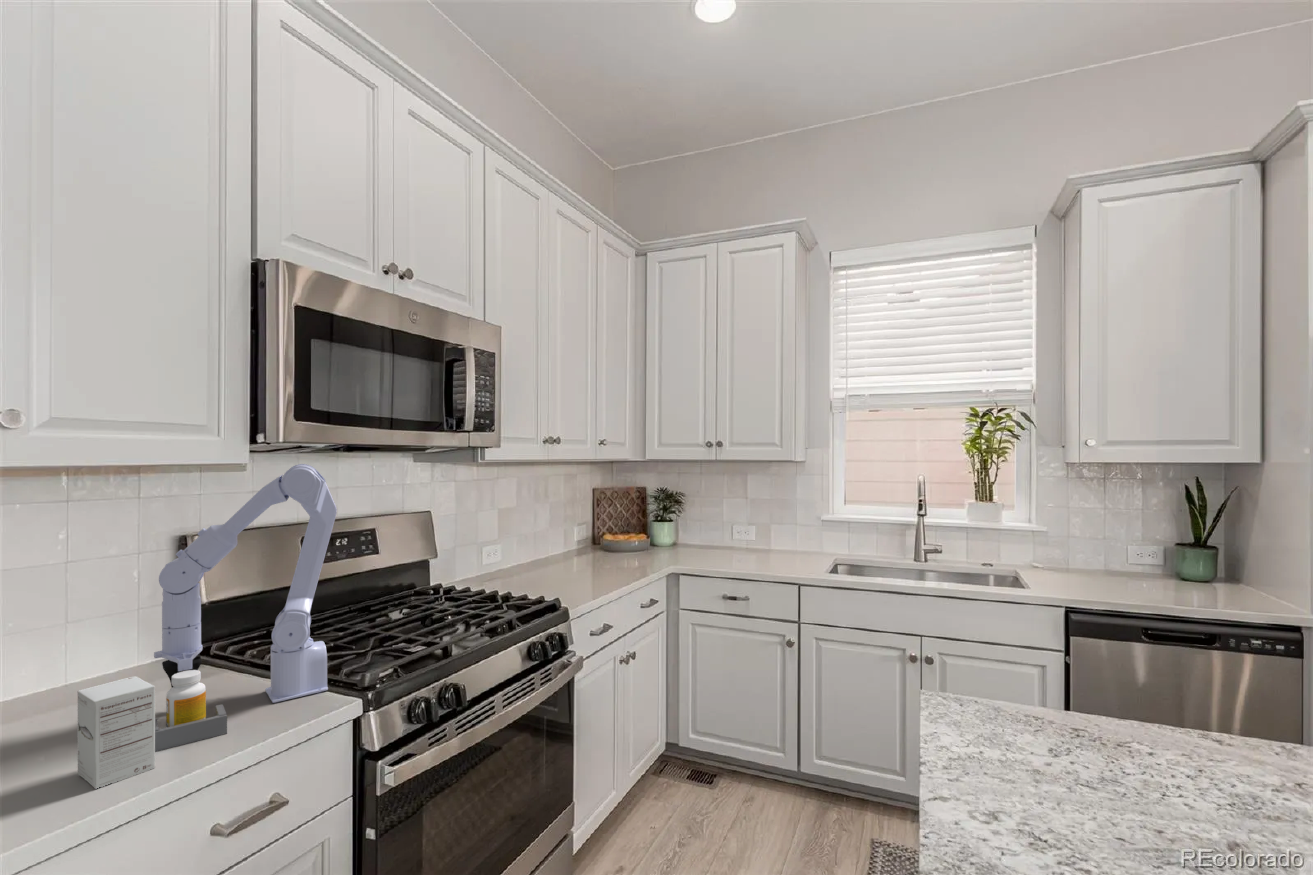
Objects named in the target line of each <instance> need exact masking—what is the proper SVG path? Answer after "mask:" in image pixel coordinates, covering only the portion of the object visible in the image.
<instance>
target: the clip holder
mask: <svg viewBox="0 0 1313 875" xmlns="http://www.w3.org/2000/svg"><path fill="white" fill-rule="evenodd" d="M158 722H159V721H158V719H157V718H155V752H159V751H163V750H167V749H171V748H176V747H180V746H182V745H186V744H191V743H195V742H198V741H202V740H203V741H204V740H207V739H211V738H214V737H219V736H222V735H226V734H228V715H227V711H226V709H225V707H224V705H223V703H222V704H217V705H215V715H214V716H211V717H206V718H205V719H201V720H197V721H193V722H188V723H184V724H180V725H176V726H171V727H167V728H166V727H163V728H160V727H159V723H158Z"/></svg>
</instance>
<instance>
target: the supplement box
mask: <svg viewBox="0 0 1313 875" xmlns="http://www.w3.org/2000/svg"><path fill="white" fill-rule="evenodd" d="M155 719H156V686H155V685H154V684H152V683H150V682H148V681H146V680H144V679H142V678H140V677H139V676H137V675H135V676H130V677H125V678H121V679H116V680H114V681H110V682H106V683H102V684H99V685H94V686H91V687H87V688H83V689H79V690H77V775H78V776H79V777H81V778H82V779H84V780H85V781H87V783H89V785H90V786H92V787H93V788H94V789H96V790H97V788H98V789H100V788H99V787H101V788H103V786H104V787H106V786H105V785H107V786H109V785H108V784H110V783H112V784H115V783H117V781H118V782H120V780H121V781H124V780H125V779H129V778H131V777H134V776H133V775H135V776H137V775H136V774H138V775H140V774H143V773H146V772H148V771H150V769H151V770H153V769H155V768H156V751H155ZM145 771H146V772H145ZM142 772H143V773H142ZM110 785H111V784H110Z"/></svg>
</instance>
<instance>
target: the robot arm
mask: <svg viewBox="0 0 1313 875" xmlns="http://www.w3.org/2000/svg"><path fill="white" fill-rule="evenodd" d="M289 498H292V500H295V501H296V502H297V503H299V504H300V505H301V507H302V508H303V509H304V510H305V512H306V513H307V514H308V516H309V519H308V523H307V527H306V529H305V533H304V537H303V540H302V541H303V542H302V545H301V549H300V552H299V556H298V559H297V563H296V566H295V570H294V573H293V577H292V580H291V583H290V588H289V591H288V594H287V598H286V603H285V605H284V607H283V609H282V610H281V611H280V612H279V614H278V615H277V616H276V618H275V622H274V627H273V629H272V631H271V641H272V644H271V645H270V687H265V690H264V691H265V693H266V694H267V696H268V698H269V699H270V701H271V703H272V704H273V703H279V702H284V701H288V700H291V699H296V698H300V697H301V698H302V697H304V696H309V695H313V694H317V693H318V694H319V693H321V692H326V691H328V690H329V687H328V653H327V647H326V644H325V642H324V641H323V640H319V641H318V640H317V641H314V638H311V636H310V635H311V629H310V627H311V625H312V624H311V623H312V616H311V610H312V605H313V602H314V598H315V593H316V590H317V586H318V582H319V579H320V574H321V571H322V568H323V565H324V560H325V557H326V553H327V549H328V545H329V542H330V539H331V535H332V532H333V528H334V525H335V524H334V523H335V521H336V518H337V517H336V516H337V514H338V512H337V510H338V508H337V505H336V503H335V501H334V498H333V496H332V493H331V491H330V489H329V486H328V484H327V482H326V479H325V478H324V476H323V475H322V473H320V472H319V471H318V470H317V469H316V468H315V467H313V466H312V465H309V464H308V463H307V464H305V463H299V464H295V465H293V466H291V467H290V468H288V470H286V471H285V472H284V474H283V473H282V474H281V475H279V476H278V477H276V478H274V479H273V480H271V481H270V482H269V483H267V484H266V485H264V486H263V487H262V488H261V489H260V490H258V491H257V492H256V493H255V494H254V495H253V496H252V497H250V499H249V500H248V501H247V502H246V503H244V505H243V506H241V507H240V509H239V510H238V511H236V512H235V513H234V514H233V515H232V516H231V517H230V518H229V519H228V520H227V521H226V522H225V523H224V524H223V523H222V524H211V525H210V526H209V527H208V528H205V527H203V528H202V529H201V530H200V531H198V532H197V535H198V536H197V537H196V539H194V540H193V541H192V542H191V543H190V544H189V545H188V546H187V547H185V548H184V549H179V550H178V551H177V552H176V553H175V556H177V558H175V559H173V560H172V561H170V562H168V563H166V564H165V565H164V567H163V568H162V570H161V571H160V573H159V575H158V584H159V585H160V587H161V588H162V601H161V650H158V651H155V652H153V659H159V658H160V659H161V658H162V659H164V661H162V662H161V666H162V669H163V671H164V673H165V674H166V675H167V677H168V678H169V682H170V685H171V688H172V687H173V686H172V684H171V679H172V676H173V675H174V674H176V673H179V672H183V671H188V670H199V668H200V667H201V665H202V662H203V661H202V657H201V654H200V653H201V652H202V651H203V644H202V597H201V593H200V592H201V589H200V588H201V587H200V585H201V584H200V583H199V582H200V581H201V580H202V579H203V576H204V574H205V573H207V572H210V571H212V569H213V568H215V567H216V566H217V565H218V564H219V563H220V562H221V561H222V560H223V559H225V558H226V557H227V555H229V554H230V553H231V552H232V551H233V550H234V549H235V548H236V547H237V546H238V542H239V541H238V537H239V536H238V535H239V534H240V533H241V532H242V531H244V530H245V529H246V528H247V527H248V526H249V525H250V524H252V523H253V522H255V520H256V519H258V518H259V517H260V516H261V515H262V514H264V512H265V511H266V510H268V509H269V508H270V507H271V506H275V505H277V504H281V503H284V502H287V501H288V499H289Z"/></svg>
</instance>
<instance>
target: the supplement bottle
mask: <svg viewBox="0 0 1313 875" xmlns="http://www.w3.org/2000/svg"><path fill="white" fill-rule="evenodd" d="M201 679H202V674H201V671H200V670H199V669H198V670H188V671H183V672H179V673H176V674H174V675H173V676H172V679H171V682H170V685H171V684H172V686H173V687H171V688H170V689H168V691H167V692H166V695H165V697H166V698H165V700H166V701H165V703H166V704H165V705H166V706H165V707H166V710H165V711H166V712H165V713H166V716H165V717H166V726H165V728H167V727H171V726H176V725H180V724H184V723H188V722H193V721H197V720H201V719H205V718H207V702H206V701H207V690H206V684H204V683H203V682H200V681H201Z"/></svg>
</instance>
